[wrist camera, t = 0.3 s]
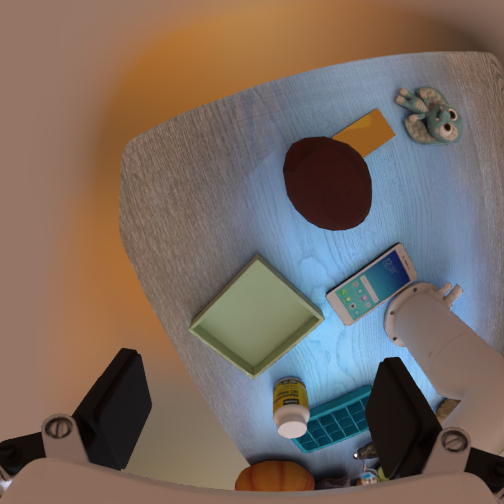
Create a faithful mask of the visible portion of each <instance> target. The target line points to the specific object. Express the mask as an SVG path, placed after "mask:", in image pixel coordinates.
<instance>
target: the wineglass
mask: <svg viewBox="0 0 504 504" xmlns="http://www.w3.org/2000/svg"><path fill="white" fill-rule="evenodd" d="M358 456H359V455H358V453H357V452H356V453H355V454H354V455H353V458H354V459H359V457H358ZM362 461H363V468H364V470H363V471H362V472H360V473H359V474H358V476H357V479H356V482H357V486H360V485H366V484H373V483H379V482H381V476H380V474H379V472H378V471H377V470H376V469H367V465H366V464H365V461H364V459H363V460H362Z"/></svg>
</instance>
